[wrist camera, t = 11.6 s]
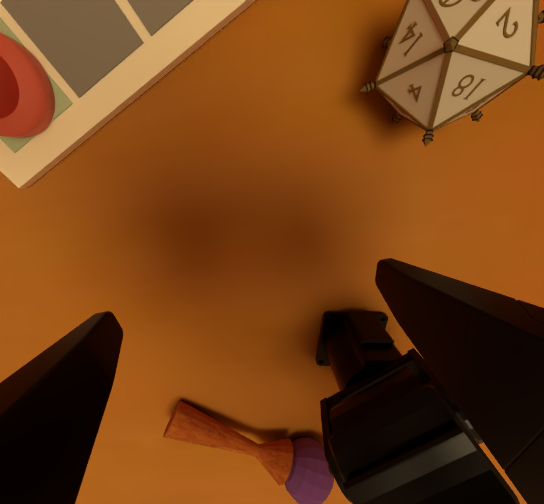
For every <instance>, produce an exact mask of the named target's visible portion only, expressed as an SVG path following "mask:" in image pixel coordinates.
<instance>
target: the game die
mask: <svg viewBox="0 0 544 504" xmlns="http://www.w3.org/2000/svg"><path fill="white" fill-rule="evenodd" d="M538 11H539V0H407V1H406V3H405V6H404V8H403V11H402V13H401V16H400V18H399V21H398V23H397V26H396V28H395V31H394V33H393V36H392V39H391V38H390V37H389V38H388V37H386V38H385V39H384V40H383V41H381V43H382V45H383V48H384V47H385V48H388V49H387V51H386V54H385V56H384V59H383V61H382V64H381V66H380V69H379V71H378V74H377V76H376V79H375V81H374V82H373V83H370V82H368V84H364V86H363V87H362V89H361V90H360V92H364V93H366V94H367V93H368V92H371V91H372V90H373V89H376V90H377V91H378V92H379V93H380V94H381V95H382V96H383V97H384V98H385V100H386V101H387V102H388V103H389V104H390V105H391V106H392V107H393V108H394V109H395V111H396V112H397V113H398V114H396V115H394V117H392V119H393V123H396V122H397V123H398V122H399V120H401V117H404V118H406V119H407V120H409V121H411V122H412V123H414V124H416V125H417V126H419V127H421V128H422V129H424V130H426V134H425V135H424V136H423V137H424V138H423V139H422V141H423V142H424V145H425V147H426V146H427V145H428V144H429V143H430V142H431V141H433V139H432V137H434V135H433V131H434V130H436V129H438V128H441V127H443V126H445V125H447V124H450V123H452V122H454V121H456V120H459V119H461V118H463V117H465V116H467V115H470V114H472V115H471V118H472V121H478V122H479V121H480V119H481V116H482V115H483V114H481V111H478V110H479V109H480V108H481V107H483V106H484V105H486V104H487V103H489V102H490V101H491V100H493V99H494V98H496V97H497V96H498V95H500V94H501V93H503V92H504V91H506V90H507V89H508V88H510V87H511V86H513V85H514V84H515V83H517V82H518V81H520V80H521V79H523V78H524V77H525V76H527V75H530V76H532V79H534V78H537V79H538V80H540V79H542V78H544V65H540V66H535V65H534V63H535V51H536V39H537V27H538V23H544V10H543V11H542V12H541V13H540V14H539V15H538ZM393 123H392V124H393Z"/></svg>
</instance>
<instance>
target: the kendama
mask: <svg viewBox="0 0 544 504" xmlns="http://www.w3.org/2000/svg"><path fill="white" fill-rule="evenodd" d="M163 437H166V438H170V439H175V440H180V441H185V442H189V443H194V444H199V445H204V446H209V447H213V448H218V449H223V450H228V451H232V452H237V453H242V454H247V455H251V456H256V457H257V459H258V460H259V461H260V462H261V464H262V465H263V466H264V467H265V469H266V470H267V471H268V472H269V473H270V475H271V476H272V477H273V478H274V480H275V481H276V482H277V483H278V484H279V485H283V484H284V483H285V486H286V489H287V491H288V492H289V493H290V495H291V496H292V497H293V498H294V499H295V500H296V501H297V503H299V504H322V503H323V502H324V501H325V500H326V499H327V497H328V495H329V494H330V492H331V489H332V487H333V482H334V477H333V476H332V475H331V474H330V472H329V469H328V462H327V460H326V458H325V453H324V447H323V446H322V444H321V443H319V442H318V441H316V440H314V439H311V438H309V437H305V438H299V439H296V440H295V441H293V442H291V440H290V439H289V438H286V439H281V440H277V441H272V442H267V443H263V444H257V443H255V442H254V441H252V440H250V439H248V438H246V437H245V436H243V435H241V434H239V433H238V432H236V431H234V430H232V429H230V428H229V427H227V426H225V425H223V424H221V423H220V422H218V421H216V420H214V419H213V418H211V417H209V416H207V415H205V414H204V413H202V412H200V411H198V410H197V409H195V408H193V407H191V406H189V405H188V404H186V403H184V402H182V401H181V400H180V401H179V403H178V405H177V406H176V408H175V410H174V412H173V414H172V416H171V418H170V420H169V422H168V425H167V427H166V429H165V432H164V435H163Z"/></svg>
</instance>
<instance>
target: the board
mask: <svg viewBox="0 0 544 504" xmlns="http://www.w3.org/2000/svg"><path fill="white" fill-rule="evenodd" d="M255 1H256V0H0V33H2V34H4V35H6V36H8V37H10V38H12V39H14V40H16V41H17V42H18V43H20V44H21V45H23V46H24V47H25V48H26V49H27V50H29V51H30V52H31V53H32V54H33V55H34V56H35V58H36V59H37V60H38V61H39V63H40V64H41V65H42V67H43V68H44V70H45V72H46V73H47V75H48V77H49V80H50V82H51V84H52V88H53V91H54V97H55V111H54V115H53V118H52V121H51V122H50V124H49V126H48V127H47V128H46V129H45V130H44V131H42V132H41V133H39V134H37V135H35V136H32V137H26V138H17V137H6V136H0V171H1V172H2V173H3V174H4V175H5V176H6V177H7V178H9V179H10V180H11V181H12V182H13V183H14V184H15V185H16V186H17V187H18V188H25V187H29V186H31V185H32V184H33V183H34V182H35V181H37V180H38V179H39V178H40V177H42V176H43V175H44V174H45V173H46V172H48V171H49V170H50V169H51V168H53V167H54V166H55V165H56V164H57V163H59V162H60V161H61V160H62V159H64V158H65V157H66V156H67V155H68V154H70V153H71V152H72V151H73V150H74V149H76V148H77V147H78V146H79V145H81V144H82V143H83V142H84V141H85V140H87V139H88V138H89V137H90V136H92V135H93V134H94V133H95V132H96V131H98V130H99V129H100V128H101V127H103V126H104V125H105V124H106V123H107V122H109V121H110V120H111V119H112V118H113V117H115V116H116V115H117V114H118V113H120V112H121V111H122V110H123V109H124V108H126V107H127V106H128V105H129V104H131V103H132V102H133V101H134V100H135V99H137V98H138V97H139V96H140V95H142V94H143V93H144V92H145V91H146V90H148V89H149V88H150V87H151V86H152V85H154V84H155V83H156V82H157V81H159V80H160V79H161V78H162V77H163V76H165V75H166V74H167V73H168V72H170V71H171V70H172V69H173V68H174V67H176V66H177V65H178V64H179V63H181V62H182V61H183V60H184V59H185V58H187V57H188V56H189V55H190V54H191V53H193V52H194V51H195V50H196V49H198V48H199V47H200V46H201V45H202V44H204V43H205V42H206V41H207V40H209V39H210V38H211V37H212V36H213V35H215V34H216V33H217V32H218V31H219V30H221V29H222V28H223V27H224V26H226V25H227V24H228V23H229V22H230V21H232V20H233V19H234V18H235V17H237V16H238V15H239V14H240V13H241V12H243V11H244V10H245V9H246V8H248V7H249V6H250V5H251V4H252V3H254V2H255Z"/></svg>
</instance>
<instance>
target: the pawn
mask: <svg viewBox="0 0 544 504" xmlns="http://www.w3.org/2000/svg"><path fill="white" fill-rule="evenodd" d="M54 111H55V97H54V91H53V88H52V84H51V82H50V80H49V77H48V75H47V73H46V72H45V70H44V68H43V67H42V65H41V64H40V63H39V61H38V60H37V59H36V58H35V56H34V55H33V54H32V53H31V52H30V51H29V50H27V49H26V48H25V47H24V46H23V45H21V44H20V43H18V42H17V41H16V40H14V39H12V38H10V37H8V36H6V35H4V34H2V33H0V136H6V137H17V138H26V137H32V136H35V135H37V134H39V133H41V132H42V131H44V130H45V129H46V128H47V127H48V126H49V124H50V122H51V121H52V118H53V115H54Z"/></svg>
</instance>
